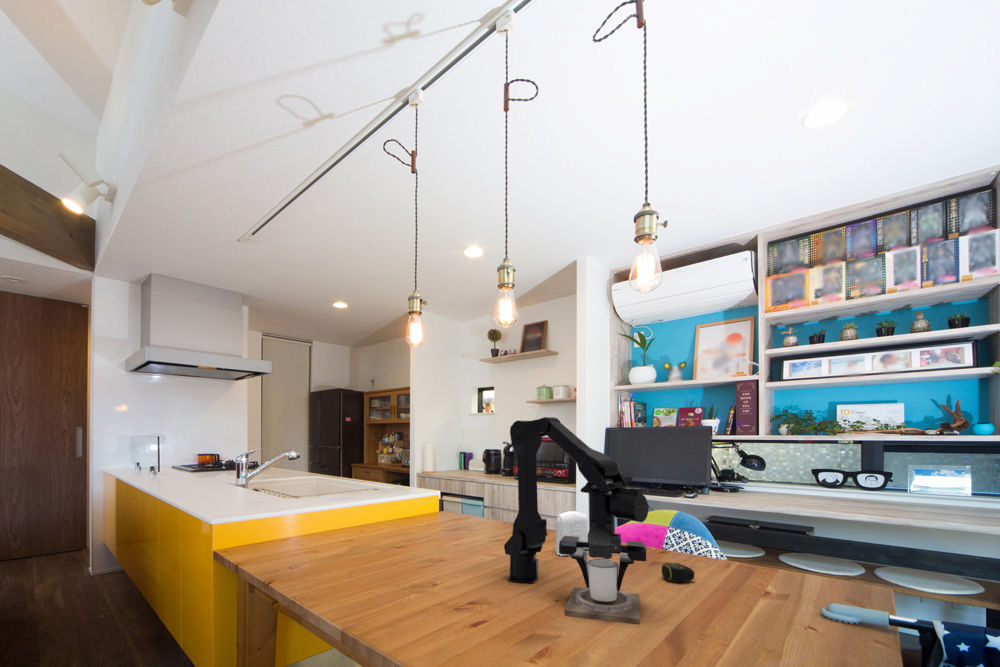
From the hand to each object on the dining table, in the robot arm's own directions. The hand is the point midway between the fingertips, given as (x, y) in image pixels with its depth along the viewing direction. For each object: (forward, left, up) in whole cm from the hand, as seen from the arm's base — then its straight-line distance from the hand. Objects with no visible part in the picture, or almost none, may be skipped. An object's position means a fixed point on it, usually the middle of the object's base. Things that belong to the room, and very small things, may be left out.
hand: (603, 589), depth 108 cm
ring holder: (0, 0, -4) cm, 4 cm away
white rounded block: (-12, +41, -4) cm, 43 cm away
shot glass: (0, 0, -2) cm, 2 cm away
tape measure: (+17, +25, -4) cm, 31 cm away
